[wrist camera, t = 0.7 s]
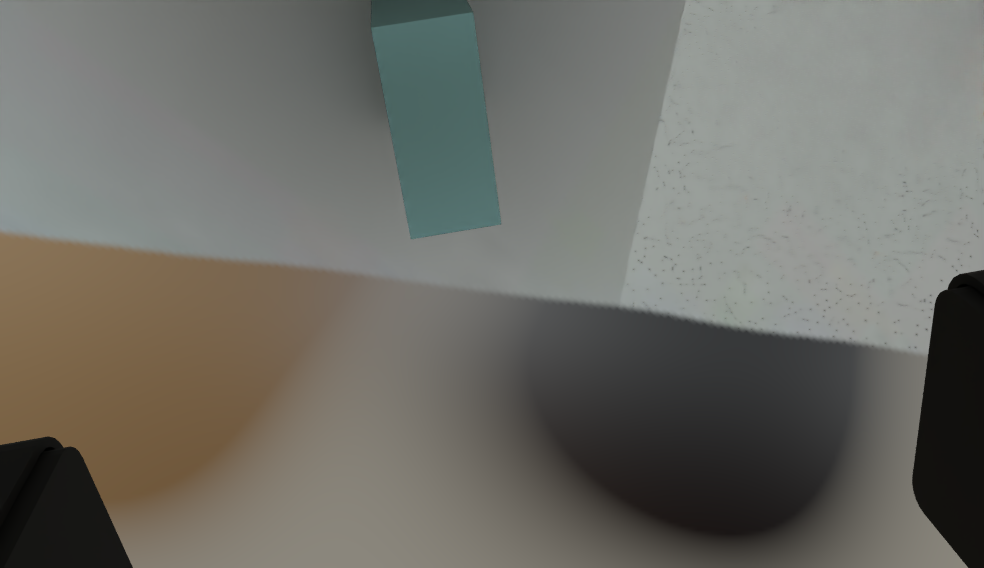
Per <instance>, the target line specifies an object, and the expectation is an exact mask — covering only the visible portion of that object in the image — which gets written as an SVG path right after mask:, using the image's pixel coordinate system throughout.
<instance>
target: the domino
mask: <svg viewBox="0 0 984 568" xmlns="http://www.w3.org/2000/svg"><path fill="white" fill-rule="evenodd" d="M371 31H372V36H373V41H374V46H375V52H376V57H377V62H378V68H379V73H380V78H381V84H382V89H383V94H384V99H385V105H386V110H387V115H388V121H389V126H390V131H391V136H392V142H393V147H394V152H395V158H396V163H397V168H398V173H399V179H400V184H401V189H402V195H403V200H404V205H405V210H406V216H407V221H408V226H409V232H410V237H411V239H415V238H421V237H427V236H433V235H439V234H445V233H451V232H458V231H464V230H470V229H476V228H482V227H488V226H494V225H500V224H501V219H500V211H499V204H498V196H497V189H496V181H495V173H494V166H493V158H492V151H491V143H490V136H489V128H488V121H487V113H486V106H485V98H484V91H483V83H482V75H481V68H480V60H479V53H478V45H477V38H476V30H475V23H474V15H473V11H472V9H471V8H470V6H469V4H468V2H467V0H372V6H371Z"/></svg>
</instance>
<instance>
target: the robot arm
mask: <svg viewBox="0 0 984 568" xmlns="http://www.w3.org/2000/svg"><path fill="white" fill-rule="evenodd" d="M912 478H913V479H912V484H913V491H914V494H915V497H916V500H917V502H918V504H919V507H920V508H921V509H922V511H923V512H924V514H925V515H926V516H927V518H928V519H929V520H930V521H931V523H932V524H933V525H934V526H935V527H936V529H937V530H938V531H939V532H940V534H941V535H942V536H943V537H944V538H945V540H946V541H947V542H948V543H949V545H950V546H951V547H952V548H953V550H954V551H955V552H956V553H957V554H958V556H959V557H960V558H961V559H962V561H963V562H964V563H965V564H966V565H967V567H968V568H984V270H981V271H975V272H970V273H964V274H959V275H958V276H956V277H954V278H953V279H952V281H951V282H950V284H949V286H948V290H944V291H942V292H941V293H940V294H939V295H938V297H937V299H936V302H935V308H934V315H933V323H932V331H931V338H930V346H929V354H928V361H927V369H926V377H925V385H924V392H923V400H922V407H921V415H920V423H919V430H918V438H917V447H916V454H915V462H914V469H913V477H912ZM0 568H133V567H132V565H131V563H130V560H129V558H128V556H127V554H126V552H125V550H124V547H123V545H122V543H121V541H120V538H119V536H118V534H117V532H116V530H115V528H114V526H113V523H112V521H111V519H110V517H109V514H108V512H107V510H106V508H105V506H104V504H103V501H102V499H101V497H100V495H99V492H98V490H97V488H96V486H95V484H94V481H93V479H92V477H91V475H90V473H89V471H88V468H87V466H86V464H85V462H84V459H83V457H82V456H81V454H80V452H79V451H78V450H77V449H76V448H74V447H65V448H63V446H62V445H61V444H60V442H59V441H57V440H56V439H55V438H52V437H43V438H38V439H32V440H26V441H20V442H15V443H9V444H4V445H0Z"/></svg>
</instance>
